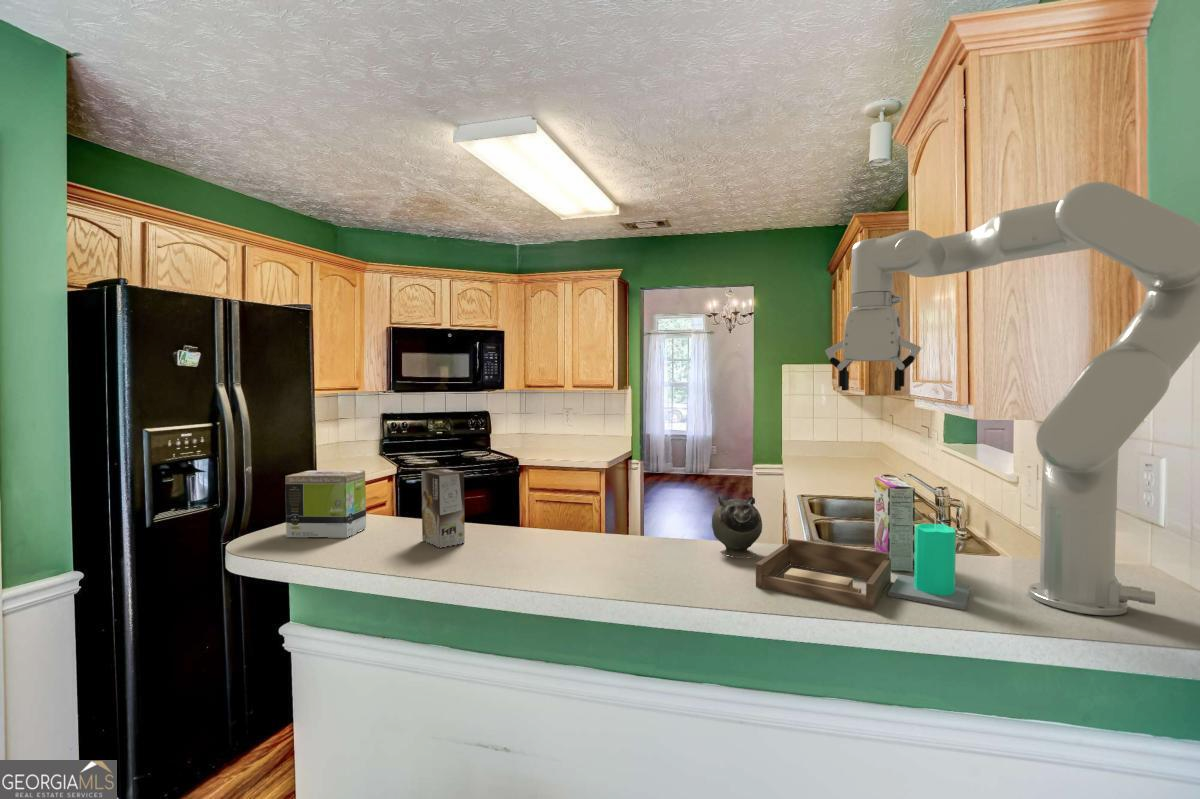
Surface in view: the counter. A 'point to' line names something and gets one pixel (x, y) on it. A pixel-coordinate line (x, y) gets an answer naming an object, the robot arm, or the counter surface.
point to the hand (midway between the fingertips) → (870, 390)
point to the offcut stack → (821, 579)
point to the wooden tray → (828, 560)
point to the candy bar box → (895, 522)
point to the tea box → (325, 503)
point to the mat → (906, 590)
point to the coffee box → (443, 507)
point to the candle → (935, 559)
